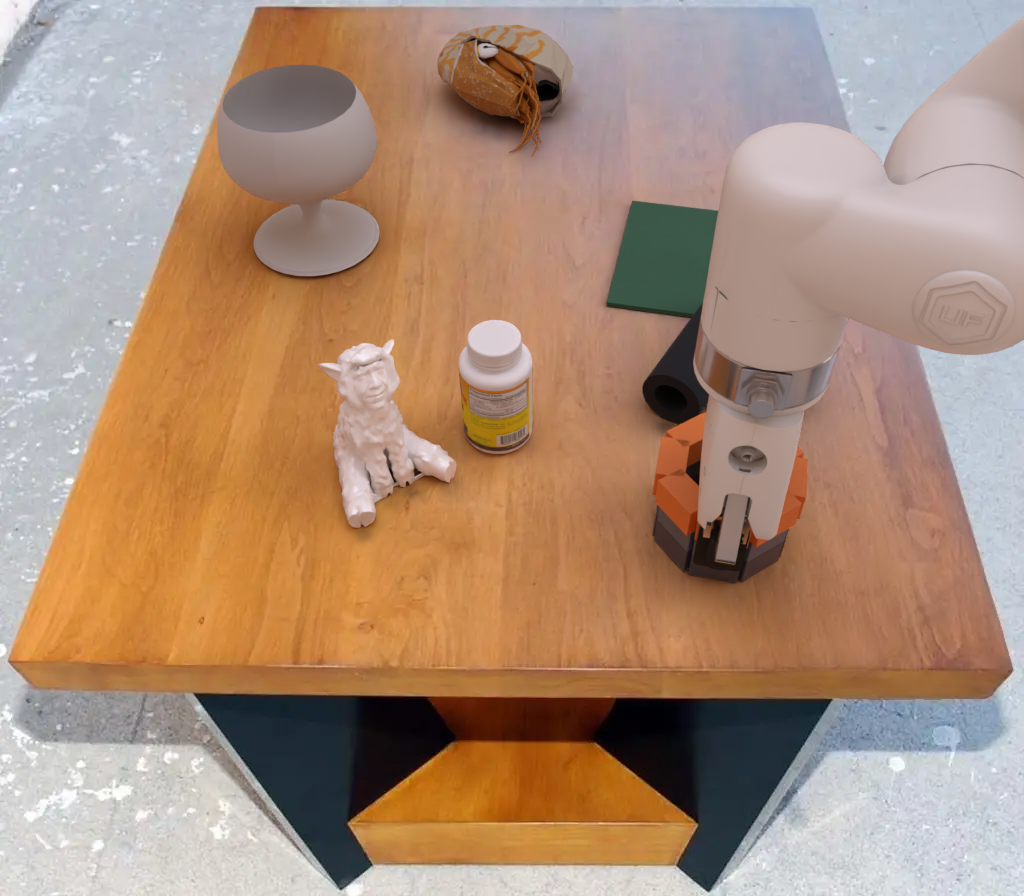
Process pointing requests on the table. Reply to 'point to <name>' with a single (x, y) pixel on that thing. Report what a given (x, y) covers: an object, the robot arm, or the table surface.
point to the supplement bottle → (496, 388)
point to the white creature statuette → (376, 433)
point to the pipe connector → (677, 378)
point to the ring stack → (684, 546)
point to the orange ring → (682, 492)
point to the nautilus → (508, 73)
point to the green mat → (663, 259)
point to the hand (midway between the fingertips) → (718, 546)
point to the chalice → (301, 164)
